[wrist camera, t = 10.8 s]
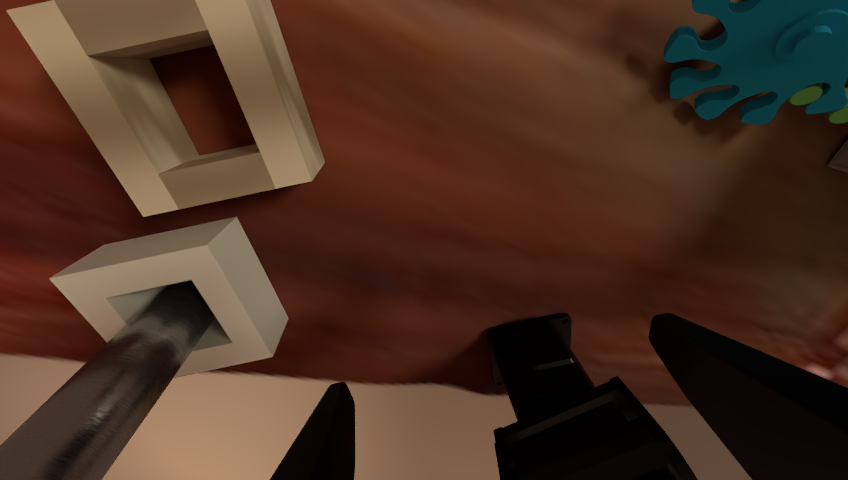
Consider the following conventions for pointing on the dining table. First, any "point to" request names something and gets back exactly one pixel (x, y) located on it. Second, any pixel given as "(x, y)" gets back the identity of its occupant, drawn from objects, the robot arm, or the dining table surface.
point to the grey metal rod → (109, 393)
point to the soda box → (840, 159)
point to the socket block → (176, 262)
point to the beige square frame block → (150, 104)
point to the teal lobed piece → (766, 58)
